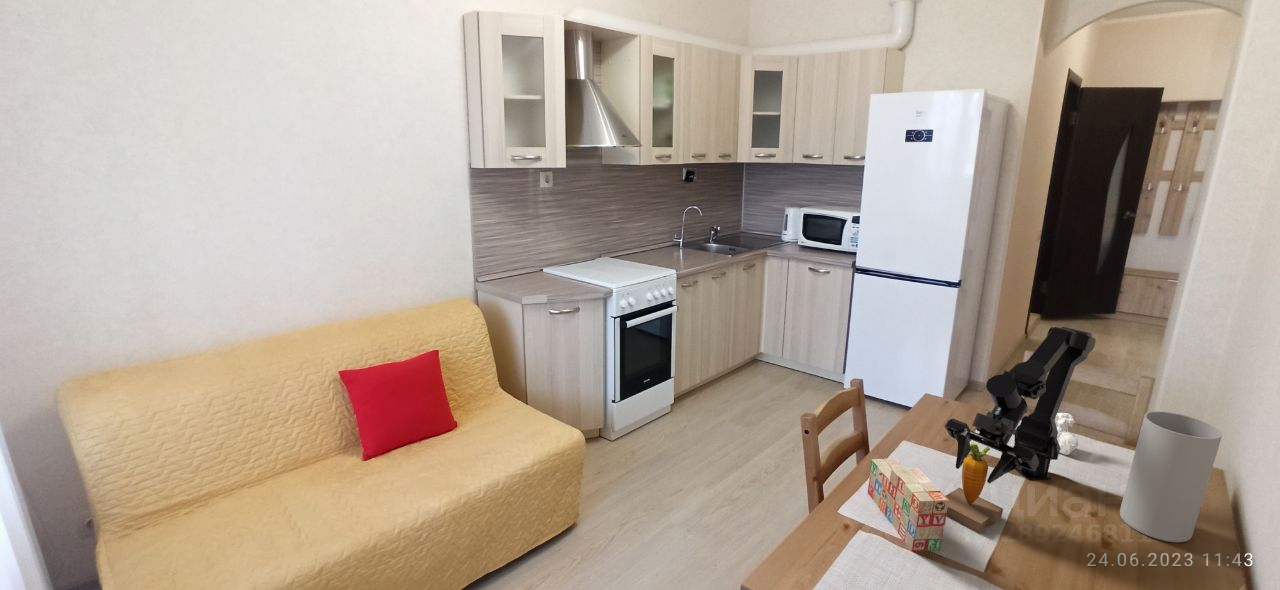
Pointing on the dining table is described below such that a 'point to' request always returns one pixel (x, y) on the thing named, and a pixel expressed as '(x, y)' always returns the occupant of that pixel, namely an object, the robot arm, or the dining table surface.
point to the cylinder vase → (1169, 475)
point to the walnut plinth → (972, 511)
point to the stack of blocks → (909, 503)
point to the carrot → (974, 473)
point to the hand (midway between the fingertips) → (972, 475)
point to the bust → (1065, 433)
